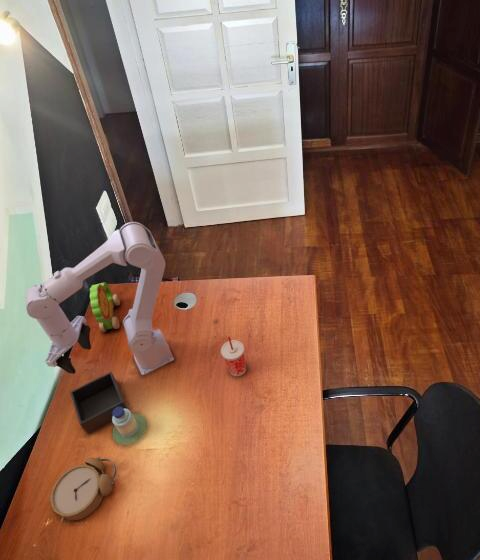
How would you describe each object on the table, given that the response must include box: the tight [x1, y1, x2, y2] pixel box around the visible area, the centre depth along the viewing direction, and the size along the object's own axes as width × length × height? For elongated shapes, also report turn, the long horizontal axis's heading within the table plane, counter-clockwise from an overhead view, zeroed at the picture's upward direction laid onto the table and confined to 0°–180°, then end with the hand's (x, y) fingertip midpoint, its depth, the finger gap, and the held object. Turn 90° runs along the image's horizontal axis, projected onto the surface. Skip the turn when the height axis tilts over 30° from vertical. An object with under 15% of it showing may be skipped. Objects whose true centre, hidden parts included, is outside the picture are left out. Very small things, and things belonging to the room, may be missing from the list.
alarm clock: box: [48, 456, 118, 524], centre depth 110 cm, size 11×5×15 cm
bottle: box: [111, 407, 139, 437], centre depth 118 cm, size 5×5×9 cm
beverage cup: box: [220, 336, 247, 377], centre depth 126 cm, size 6×6×14 cm
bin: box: [69, 371, 130, 435], centre depth 124 cm, size 11×11×5 cm
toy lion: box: [89, 282, 121, 333], centre depth 143 cm, size 16×5×15 cm, turn 12°
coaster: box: [112, 412, 148, 446], centre depth 121 cm, size 9×9×1 cm
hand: (79, 360), depth 125 cm, fingers open, 7 cm apart
